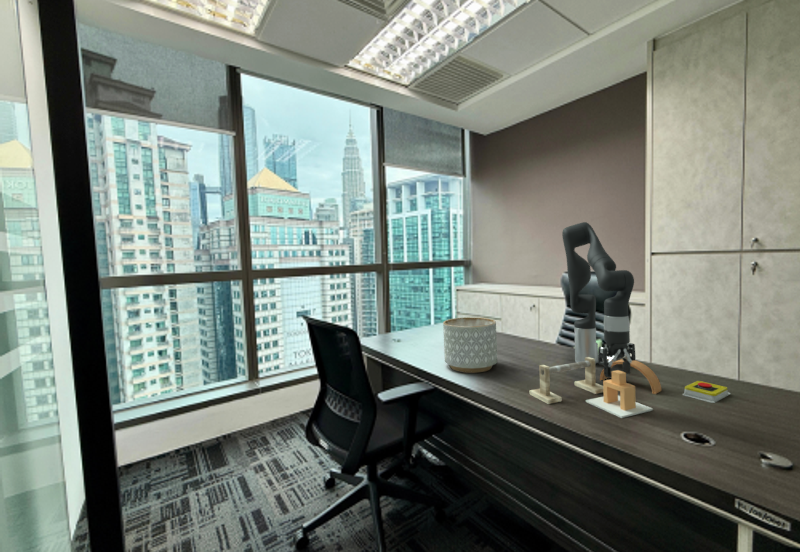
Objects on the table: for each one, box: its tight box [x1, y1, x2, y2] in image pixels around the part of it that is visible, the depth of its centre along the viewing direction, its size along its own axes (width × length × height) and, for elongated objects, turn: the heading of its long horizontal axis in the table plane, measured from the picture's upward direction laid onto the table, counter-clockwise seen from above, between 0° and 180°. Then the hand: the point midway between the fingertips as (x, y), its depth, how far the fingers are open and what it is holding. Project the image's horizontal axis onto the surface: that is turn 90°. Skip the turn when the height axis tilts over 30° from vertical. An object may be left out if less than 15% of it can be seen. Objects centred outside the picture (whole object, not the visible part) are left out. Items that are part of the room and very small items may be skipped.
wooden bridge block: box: [602, 369, 637, 411], centre depth 120 cm, size 5×8×12 cm, turn 19°
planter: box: [442, 316, 498, 374], centre depth 172 cm, size 26×26×22 cm
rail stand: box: [529, 357, 603, 405], centre depth 134 cm, size 28×10×12 cm, turn 109°
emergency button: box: [682, 380, 731, 404], centre depth 127 cm, size 9×4×15 cm
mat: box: [585, 394, 654, 419], centre depth 121 cm, size 14×14×1 cm
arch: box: [599, 358, 662, 395], centre depth 139 cm, size 6×20×10 cm, turn 33°
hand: (617, 375), depth 120 cm, fingers open, 8 cm apart
